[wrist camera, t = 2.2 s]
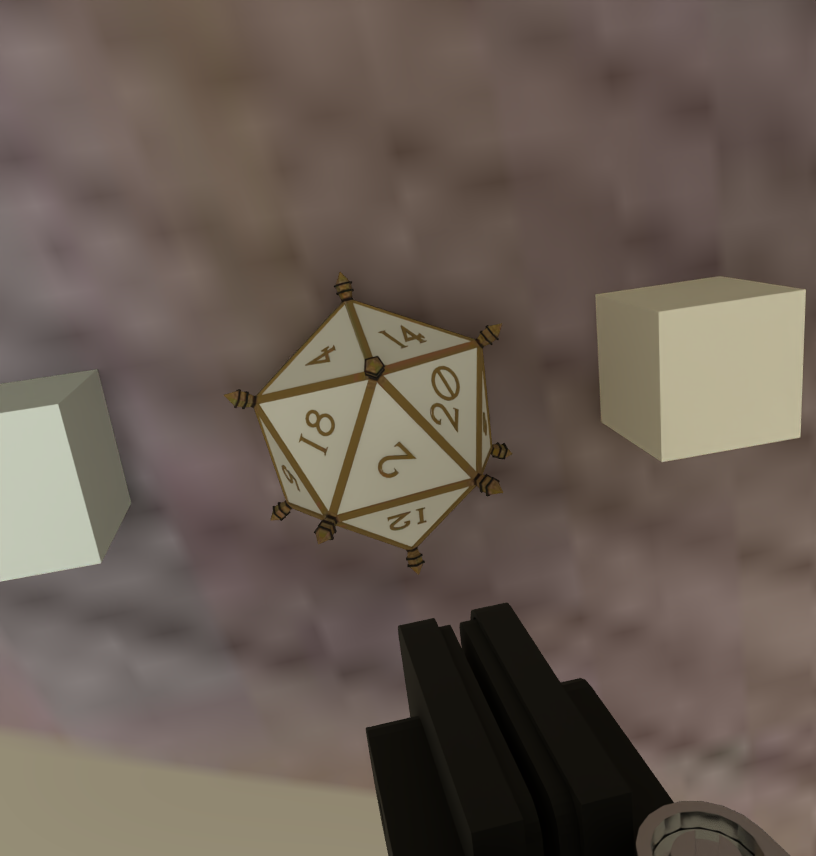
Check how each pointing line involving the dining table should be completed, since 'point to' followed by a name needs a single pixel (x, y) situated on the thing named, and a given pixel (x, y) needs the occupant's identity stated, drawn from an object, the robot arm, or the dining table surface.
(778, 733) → the dining table surface
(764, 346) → the off-white block
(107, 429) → the grey-green block
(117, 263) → the dining table surface
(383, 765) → the robot arm
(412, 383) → the game die
